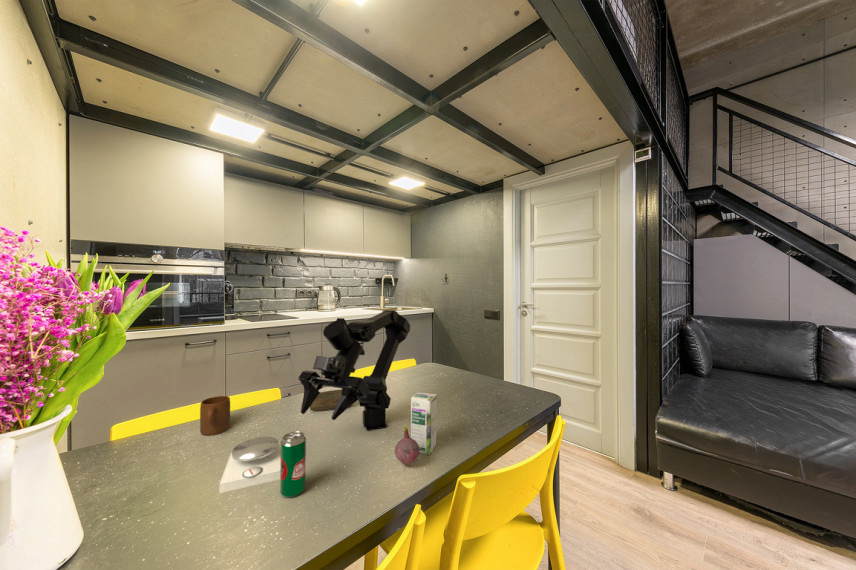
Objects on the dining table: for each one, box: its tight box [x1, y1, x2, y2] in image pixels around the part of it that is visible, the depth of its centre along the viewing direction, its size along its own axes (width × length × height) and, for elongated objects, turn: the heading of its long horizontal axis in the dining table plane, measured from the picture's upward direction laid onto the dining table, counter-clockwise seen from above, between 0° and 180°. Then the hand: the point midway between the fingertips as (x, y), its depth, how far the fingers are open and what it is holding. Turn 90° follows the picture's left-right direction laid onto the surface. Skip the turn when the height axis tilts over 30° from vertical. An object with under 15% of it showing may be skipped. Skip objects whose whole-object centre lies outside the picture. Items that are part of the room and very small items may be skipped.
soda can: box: [279, 431, 307, 499], centre depth 66 cm, size 5×5×12 cm
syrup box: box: [410, 391, 437, 456], centre depth 84 cm, size 6×6×14 cm
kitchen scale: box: [218, 442, 281, 494], centre depth 74 cm, size 12×14×2 cm
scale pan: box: [231, 436, 279, 461], centre depth 75 cm, size 10×10×2 cm
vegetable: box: [394, 425, 420, 467], centre depth 76 cm, size 6×6×10 cm
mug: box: [199, 395, 231, 436], centre depth 92 cm, size 12×8×9 cm, turn 25°
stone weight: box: [309, 388, 342, 411], centre depth 111 cm, size 15×7×7 cm, turn 111°
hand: (317, 416), depth 73 cm, fingers open, 9 cm apart
